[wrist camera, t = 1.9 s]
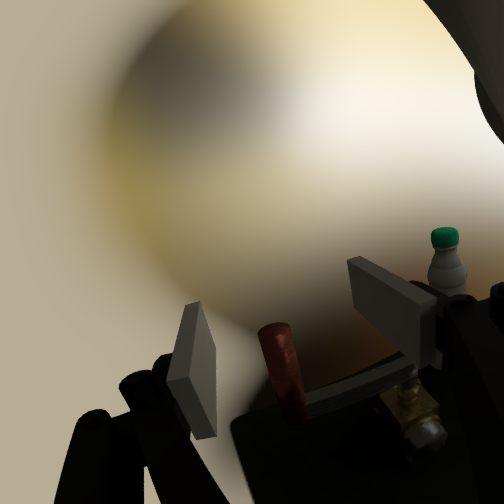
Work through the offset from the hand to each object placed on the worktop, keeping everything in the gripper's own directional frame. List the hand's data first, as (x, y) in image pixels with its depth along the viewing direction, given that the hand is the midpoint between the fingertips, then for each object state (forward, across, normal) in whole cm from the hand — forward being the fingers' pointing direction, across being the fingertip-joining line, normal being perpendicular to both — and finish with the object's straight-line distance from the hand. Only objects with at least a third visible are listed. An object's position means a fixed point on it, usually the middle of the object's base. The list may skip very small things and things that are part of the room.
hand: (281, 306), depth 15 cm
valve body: (+13, +15, -32) cm, 38 cm away
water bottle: (+24, +30, -32) cm, 50 cm away
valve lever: (+13, +7, -22) cm, 26 cm away
